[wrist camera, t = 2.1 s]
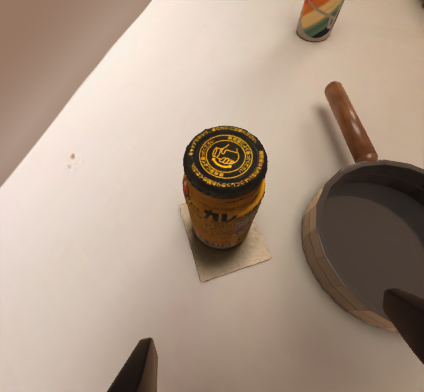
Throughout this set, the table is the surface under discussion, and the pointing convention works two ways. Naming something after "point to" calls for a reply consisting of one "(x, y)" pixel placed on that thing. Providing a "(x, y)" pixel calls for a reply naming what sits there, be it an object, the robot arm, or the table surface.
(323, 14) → the lotion bottle
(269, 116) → the table surface
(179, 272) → the table surface
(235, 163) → the condiment
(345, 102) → the pan handle
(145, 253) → the table surface
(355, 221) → the pan
